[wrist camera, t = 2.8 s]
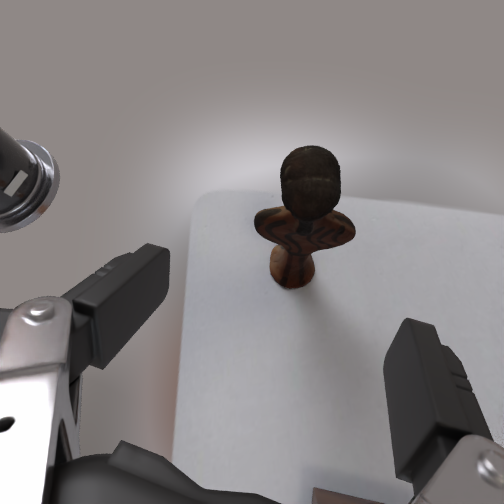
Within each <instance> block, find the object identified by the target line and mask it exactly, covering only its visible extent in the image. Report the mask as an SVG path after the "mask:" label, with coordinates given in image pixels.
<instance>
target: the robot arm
mask: <svg viewBox="0 0 504 504" xmlns="http://www.w3.org/2000/svg"><path fill="white" fill-rule="evenodd" d="M42 181H43V167H42V164H41V161H40V160H39V158H38V157H37V156H36V155H35V154H34V153H32V152H31V151H30V150H28V149H27V148H25V147H24V146H22V145H21V144H20V143H19V142H17V141H16V140H15V139H14V138H12V137H11V136H10V135H9V134H8V133H6V132H5V131H4V130H3V129H1V128H0V219H2V218H6V217H9V216H12V215H14V214H16V213H18V212H19V211H21V210H22V209H24V208H25V207H26V206H27V205H28V204H30V202H31V201H32V200H33V199H34V198H35V196H36V195H37V193H38V192H39V190H40V187H41V185H42ZM169 272H170V251H169V250H168V249H167V248H163V247H160V246H156V245H153V244H149V243H147V244H145V245H144V246H142V247H141V248H139V249H138V250H137V251H135V252H134V253H130V252H129V253H127V254H124V255H121V256H118V257H116V258H114V259H112V260H111V261H110V262H108V263H107V264H105V265H104V267H101V268H100V269H99V270H97V271H96V272H95V274H91V275H90V276H89V277H87V278H86V279H85V280H83V281H82V282H80V283H79V284H78V285H76V286H75V287H74V288H72V289H71V290H69V291H68V292H67V293H65V294H64V295H62V296H61V297H55V296H46V297H38V298H34V299H31V300H28V301H26V302H24V303H22V304H20V305H19V306H17V307H16V308H15V309H2V308H0V504H281V503H278V502H276V501H273V500H271V499H268V498H266V497H263V496H261V495H258V494H254V493H242V492H231V491H219V490H208V489H204V488H202V487H200V486H199V485H198V484H196V483H195V482H194V481H193V480H191V479H190V478H189V477H188V476H186V475H185V474H184V473H183V472H182V471H180V470H179V469H178V468H177V467H175V466H174V465H173V464H172V463H170V462H169V461H168V460H167V459H165V458H164V457H163V456H160V455H158V454H155V453H153V452H150V451H148V450H145V449H143V448H140V447H138V446H135V445H133V444H130V443H127V442H125V441H122V440H121V441H120V443H119V444H118V446H117V447H116V449H115V450H114V452H113V453H112V454H95V455H89V456H84V457H80V445H79V432H80V431H79V430H80V414H81V397H82V372H83V371H84V370H85V369H86V367H88V365H91V366H94V367H97V368H100V369H102V370H103V369H104V368H105V367H106V366H107V365H108V364H109V362H110V361H111V360H112V359H113V358H114V357H115V356H116V354H117V353H118V352H119V351H120V350H121V349H122V348H123V346H124V345H125V344H126V343H127V342H128V341H129V340H130V338H131V337H132V336H133V335H134V334H135V333H136V332H137V331H138V329H139V328H140V327H141V326H142V325H143V324H144V322H145V321H146V320H147V319H148V318H149V317H150V316H151V314H152V313H153V312H154V311H155V310H156V309H157V308H158V307H159V305H160V304H161V303H162V302H163V301H164V299H165V297H166V295H167V292H168V289H169ZM383 373H384V381H385V390H386V398H387V406H388V415H389V423H390V431H391V440H392V448H393V456H394V465H395V473H396V478H398V479H401V480H404V481H406V482H409V483H412V484H413V489H414V496H413V498H412V499H411V500H410V501H409V503H408V504H504V448H503V447H501V446H500V445H498V444H497V443H495V442H494V440H493V438H492V436H491V433H490V431H489V428H488V426H487V423H486V421H485V419H484V416H483V414H482V411H481V409H480V406H479V404H478V401H477V399H476V397H475V394H474V393H472V390H473V389H472V387H471V384H470V382H469V380H467V375H466V372H465V370H464V367H463V365H462V362H461V361H460V360H459V358H458V357H457V356H456V355H455V354H454V353H453V351H452V350H451V349H450V348H449V347H448V346H445V345H441V343H440V340H439V337H438V334H437V331H436V329H435V327H434V325H431V324H428V323H424V322H421V321H417V320H414V319H410V318H406V319H404V321H403V322H402V324H401V326H400V328H399V330H398V332H397V334H396V336H395V338H394V340H393V342H392V344H391V345H390V347H389V349H388V351H387V354H386V357H385V360H384V367H383Z"/></svg>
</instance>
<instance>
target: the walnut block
mask: <svg viewBox="0 0 504 504" xmlns="http://www.w3.org/2000/svg"><path fill="white" fill-rule="evenodd" d="M312 504H383V503H379V502H374V501H370V500H366V499H362V498H357V497H353V496H349V495H345V494H340V493H336V492H332V491H327V490H323V489H319V488H315V487H314V488H313V496H312Z"/></svg>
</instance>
